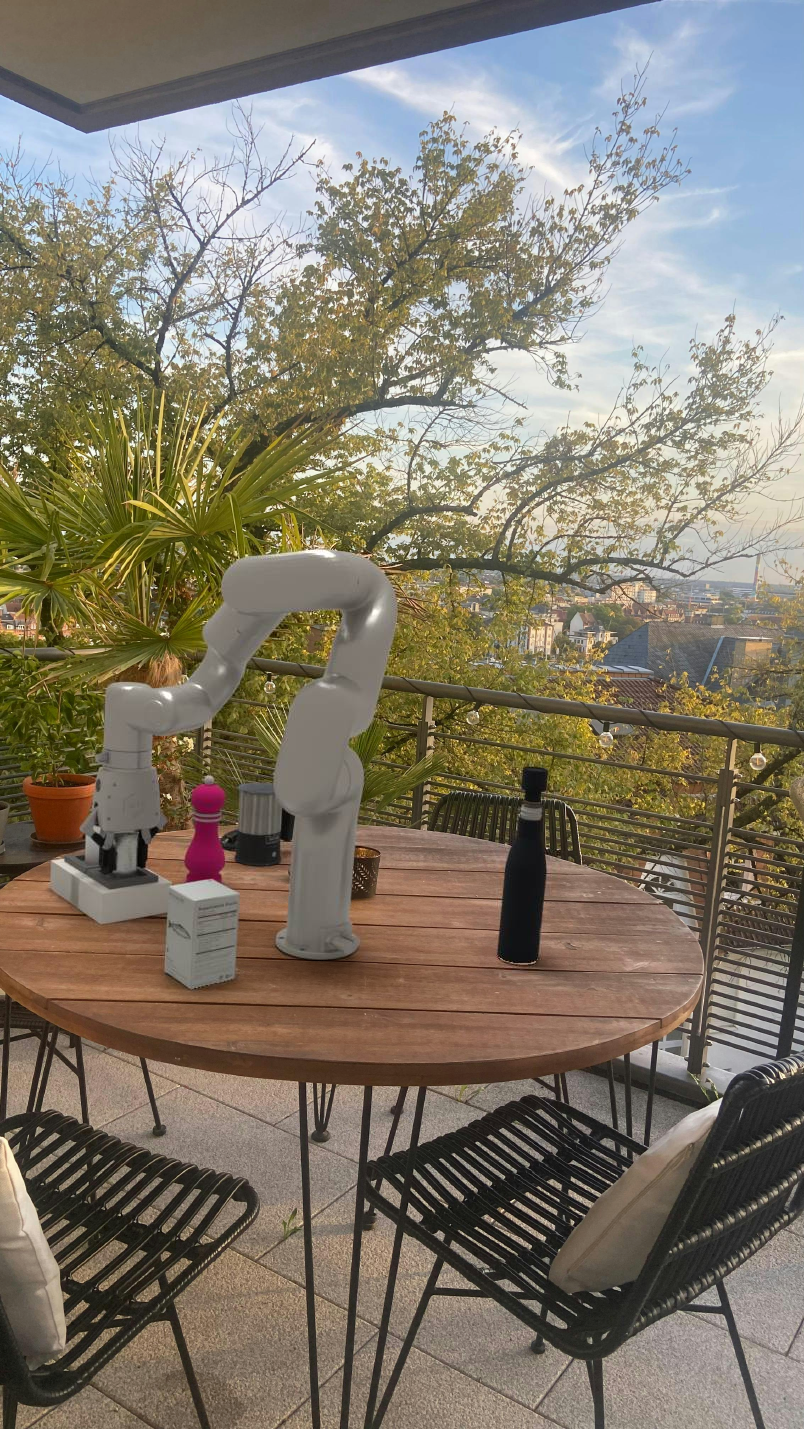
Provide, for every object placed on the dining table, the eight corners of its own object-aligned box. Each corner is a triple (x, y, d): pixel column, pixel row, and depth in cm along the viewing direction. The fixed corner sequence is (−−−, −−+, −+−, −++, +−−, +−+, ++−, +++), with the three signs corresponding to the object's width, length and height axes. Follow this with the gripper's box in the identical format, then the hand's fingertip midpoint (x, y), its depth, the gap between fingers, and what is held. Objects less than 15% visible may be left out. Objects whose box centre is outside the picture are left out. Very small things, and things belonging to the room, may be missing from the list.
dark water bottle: (489, 951, 153) (507, 764, 149) (525, 949, 156) (543, 764, 152) (508, 967, 147) (526, 772, 144) (545, 964, 150) (564, 773, 146)
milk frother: (267, 869, 187) (271, 794, 185) (195, 856, 192) (199, 783, 190) (299, 852, 201) (303, 782, 199) (231, 840, 206) (235, 772, 204)
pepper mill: (219, 892, 172) (225, 781, 169) (178, 889, 172) (184, 778, 169) (227, 880, 179) (233, 773, 176) (188, 877, 179) (193, 770, 176)
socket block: (170, 912, 160) (173, 840, 158) (101, 924, 152) (103, 849, 150) (116, 879, 175) (118, 813, 173) (50, 888, 167) (52, 820, 165)
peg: (140, 905, 160) (143, 833, 158) (114, 909, 157) (117, 836, 155) (128, 897, 163) (131, 827, 161) (102, 901, 160) (105, 830, 158)
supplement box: (162, 972, 136) (166, 884, 134) (209, 962, 141) (213, 877, 139) (189, 991, 130) (193, 900, 129) (236, 979, 135) (241, 892, 134)
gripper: (86, 767, 148) (82, 882, 151) (186, 760, 160) (181, 867, 162) (66, 758, 154) (62, 869, 156) (164, 752, 165) (159, 856, 167)
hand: (123, 867), depth 159 cm, fingers open, 5 cm apart
